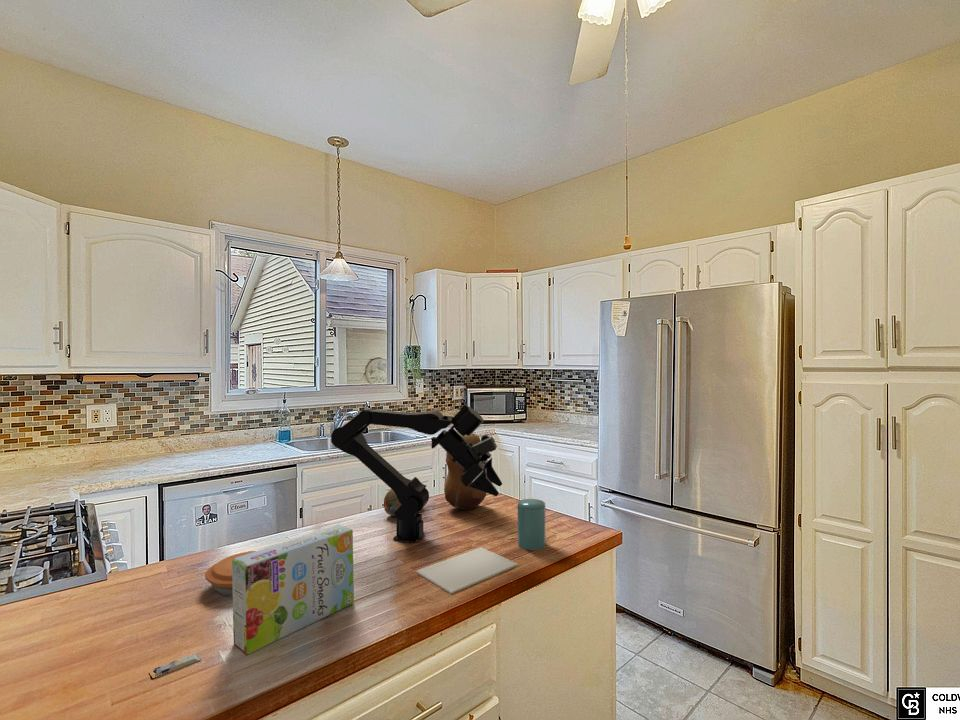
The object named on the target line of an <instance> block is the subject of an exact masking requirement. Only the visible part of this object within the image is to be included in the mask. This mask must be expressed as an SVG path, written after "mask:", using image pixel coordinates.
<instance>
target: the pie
mask: <svg viewBox="0 0 960 720" xmlns="http://www.w3.org/2000/svg"><path fill="white" fill-rule="evenodd" d="M255 551H256V550H251V551H245V552H240V553H235V554H232V555H229V556H227V557H225V558H223V559H221V560H219V561H218V562H216V563H215V564H213V565H211V566H210V567H209V568H208V569H207V570H206V571H205V572H204V578H205V581H207V582H208V583H210V585H211V586H212V587H213V588H214V590H215V591H216V592H217V593H219V595H223V596H229V597H230V596H231V597H233V583H232V560H233V559H234V558H237V557H240V556H243V555H246V554H249V553H252V552H255Z"/></svg>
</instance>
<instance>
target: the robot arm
mask: <svg viewBox="0 0 960 720" xmlns="http://www.w3.org/2000/svg"><path fill="white" fill-rule="evenodd" d="M484 421H485V420H484V418H483V417H482V415H481V414H480V413H479V412H478V411H477V410H475V409H473V408H472V407H470V406H469V405H468V404H464V405H462V407H461V408H460V410H459V411H458V412H457V413H456V414H455V415H454V416H448V415H443V414H442V412H440V411H438V410H430V411H421V412H403V411H393V410H380V409H373V408H366V409H363V410H361V411H360V412H359V413H358V414H357V415H355V416H354V417H353V418H352V419H350V420H349V421H347V423H345V424H344V425H341V426H338V427H337V428H336V427H335V429H334V430H333V431H332V432H331V435H330V440H331V444H332V445H333V446H334V447H335V448H337V449H338V450H340V451H341V452H343V453H344V454H347V455H351V456H353V457H355V458H356V459H358V461H360V462H361V463H362V464H363V465H364V466H365V467H366V468H367V469H368V470H370V471H371V472H372V473H373V474H374V476H376V477H377V478H379V479H380V480H381V481H382V482H383V483H384V484H385V485H386V486H387V487H388V488H390V490H391V489H392V490H393V491H394V493H395V495H396V497H397V499H398V501H399V502H400V504H401V506H400V507H399V508H398V509H397V510H396V511H395V512H394V514H395V516H394V517H395V519H396V525H395V526H396V533H395V534H396V535H395V536H394V537H393V538H392V539H393V540H394V541H400V542H404V543H405V542H407V543H413V544H414V543H417V541H418V540H420V539H421V538H422V537H423V536H425V532H424V520H423V513H420V512H421V511H422V509H423V508H425V506H426V505H427V504H428V502H429V500H430V494H429V490H428V489H427V488H426V487H427V485H426V484H424V483H422V482H421V481H420V479H418V477H416V476H415V477H413V478H412V479H410V478H407V477H405V475H403V474H402V473H401V472H399V471H398V470H397V469H396V468H395V467H394V466H392V464H390V462H388V461H387V460H386V459H385V458H384V457H382V456H381V455H380V454H379V453H378V452H377V451H376V450H375V449H373V447H371V446H370V445H369V444H368V442H367V439H366V436H365V435H364V434H363V433H364V431H365V430H366V429H367V428H368V427H369V426H370V425H374V426H384V427H385V426H386V427H397V428H406V429H410V430H412V431H415V432H418V433H422V434H425V435H428V436H432V435H433V437H431V438H430V439H431V445H430V447H431V449H435V448H436V447H437V446H440V447H441V448H442V449H443V450H444V451H445V453H446V452H447V453H448V454H449V455H451V454H452V453H453V454H452V455H451V457H452V458H453V459H452V461H453V462H455V461H456V462H457V463H458V464H459V465H460V466H461V467H462V468H463V469H464V470H463V472H464V473H463V475H462V476H461V482H462V483H463V484H464V485H465V486H466V487H467V486H468V485H469V484H470V483H471V482H472V483H471V484H470V485H469V487H470V488H471V487H472V488H475V489H478V490H481V491H483V492H486V494H489V495H492V496H494V497H497V496H498V495H499V494H500V492H499V491H498V489H497V488H496V486H497V487H502V486H503V482H502V480H501V478H500V477H499V475H498V473H497V472H496V470H495V468H494V467H493V457H492V454H491V453H492V452H494V451H496V449H497V448H498V445H497V443H496V441H495V440H496V439H495V438H494V437H493V436H492V435H491V436H489V435H488V434H484V435H482V436H481V437H480V440H481V442H478V443H477V444H475V445H474V444H473V443H472V442H469V443H468V442H467V441H466V440H465V439H464V438H463V437H462V436H465V435H468V436H470V435H471V434H472V433H475V431H476V430H477V429H478V428H479V427H480V426H481V425H482V424H483V423H484ZM451 425H452V426H451ZM450 426H451V427H450ZM448 427H450V428H449V429H448V430H444V429H447V428H448ZM440 431H441V432H440ZM439 432H440V433H439ZM437 433H438V435H437V436H434V435H435V434H437ZM460 434H461V435H462V436H461V435H460ZM494 485H496V486H494Z"/></svg>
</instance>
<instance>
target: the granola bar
mask: <svg viewBox="0 0 960 720" xmlns="http://www.w3.org/2000/svg"><path fill="white" fill-rule="evenodd" d="M197 661H198V662H201V661H202V659H201V658H200V657H199V655H198V653H194V654H193V653H191V654H189V655H187V656H183V657H180V658H178V659H175V660H173V661H171V662H168V663H165V664H163V665H160V666H157V667H155V668H154V669H152V670H153V672H154V673H155V676H158V675H161V674H164V673H166V674H168V673H167V672H169V671H171V672H173V671H172V670H174V669H176V670H178V669H177V668H179V667H182V666H184V667H186V666H185V665H187V666H189V665H191V663H192V664H194V663H197ZM188 664H189V665H188ZM182 668H183V667H182ZM179 669H180V668H179ZM174 671H175V670H174ZM169 673H170V672H169ZM164 675H165V674H164ZM161 676H162V675H161Z"/></svg>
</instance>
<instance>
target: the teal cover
mask: <svg viewBox="0 0 960 720" xmlns="http://www.w3.org/2000/svg"><path fill="white" fill-rule="evenodd" d="M517 545H518V547H519V548H521V549H523V550H527V551H539V550H542V549H544V548H545V546H546V503H545V501H544V500H542V499H536V498H524V499H521V500H518V503H517Z"/></svg>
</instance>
